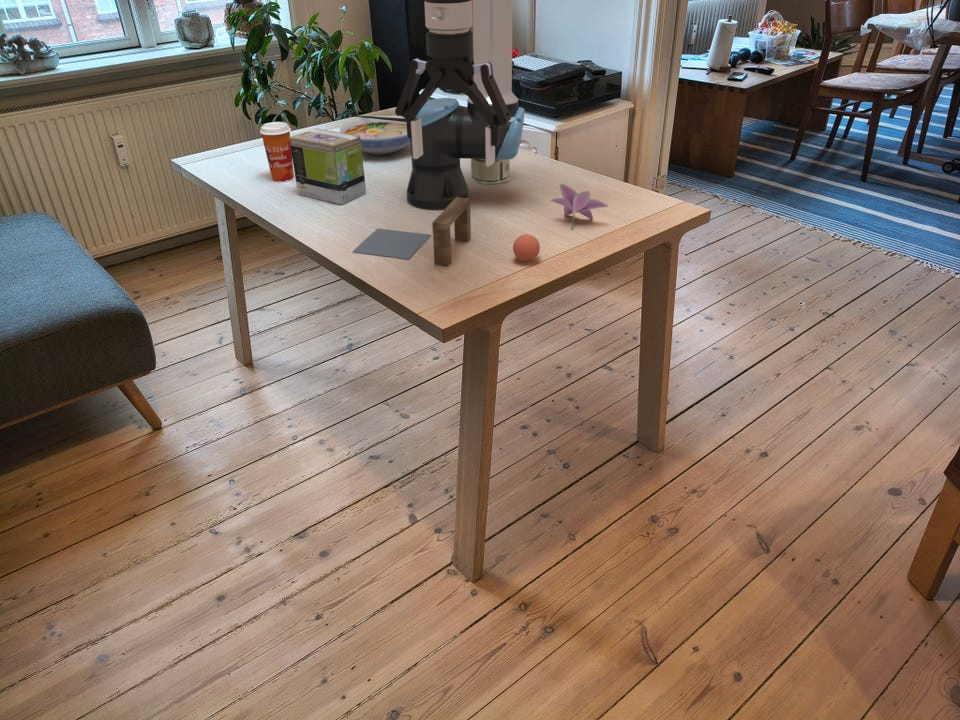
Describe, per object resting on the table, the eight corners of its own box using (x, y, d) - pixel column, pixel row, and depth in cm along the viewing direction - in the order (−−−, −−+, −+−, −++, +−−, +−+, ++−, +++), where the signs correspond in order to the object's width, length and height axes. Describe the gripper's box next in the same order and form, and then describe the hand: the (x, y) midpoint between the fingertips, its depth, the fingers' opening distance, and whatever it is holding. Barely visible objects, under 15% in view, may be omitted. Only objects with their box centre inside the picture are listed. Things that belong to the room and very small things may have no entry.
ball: (516, 253, 158) (517, 228, 155) (542, 256, 157) (543, 231, 154) (509, 264, 154) (509, 239, 151) (535, 267, 152) (536, 242, 149)
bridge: (434, 264, 154) (432, 222, 149) (457, 237, 165) (456, 197, 160) (448, 266, 153) (446, 224, 148) (470, 238, 165) (469, 198, 160)
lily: (611, 233, 169) (615, 190, 168) (577, 226, 161) (581, 181, 160) (571, 234, 177) (574, 194, 177) (536, 228, 169) (540, 185, 169)
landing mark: (377, 229, 170) (377, 228, 170) (431, 235, 166) (431, 234, 166) (352, 252, 160) (352, 251, 159) (408, 259, 156) (408, 258, 156)
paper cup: (265, 183, 196) (256, 130, 189) (271, 174, 203) (262, 121, 195) (295, 183, 197) (287, 129, 189) (300, 173, 203) (292, 120, 195)
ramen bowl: (323, 159, 213) (319, 130, 209) (364, 136, 231) (361, 109, 226) (401, 168, 205) (399, 138, 200) (437, 145, 222) (436, 117, 218)
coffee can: (470, 171, 202) (469, 118, 194) (508, 170, 202) (508, 117, 194) (471, 185, 193) (469, 130, 185) (511, 184, 193) (511, 129, 186)
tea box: (367, 193, 189) (361, 134, 181) (340, 206, 182) (333, 145, 174) (324, 183, 196) (316, 126, 188) (296, 194, 189) (287, 136, 181)
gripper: (368, 30, 121) (380, 160, 132) (516, 37, 114) (515, 173, 125) (388, 22, 127) (398, 147, 138) (530, 28, 119) (528, 160, 131)
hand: (453, 160), depth 132 cm, fingers open, 13 cm apart
